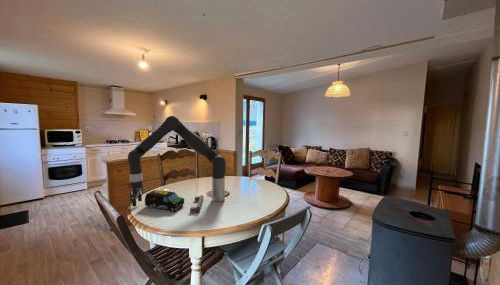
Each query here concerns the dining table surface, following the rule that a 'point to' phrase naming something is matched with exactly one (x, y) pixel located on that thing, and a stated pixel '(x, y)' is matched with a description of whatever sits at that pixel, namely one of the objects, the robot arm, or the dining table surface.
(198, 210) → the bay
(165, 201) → the toy van
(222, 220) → the dining table surface
